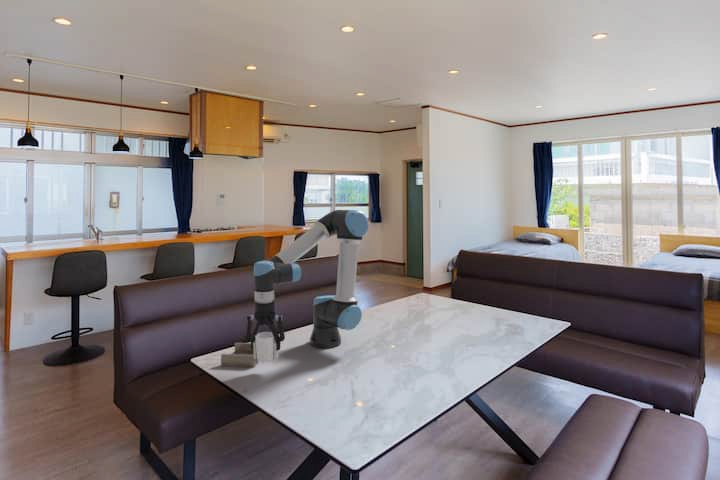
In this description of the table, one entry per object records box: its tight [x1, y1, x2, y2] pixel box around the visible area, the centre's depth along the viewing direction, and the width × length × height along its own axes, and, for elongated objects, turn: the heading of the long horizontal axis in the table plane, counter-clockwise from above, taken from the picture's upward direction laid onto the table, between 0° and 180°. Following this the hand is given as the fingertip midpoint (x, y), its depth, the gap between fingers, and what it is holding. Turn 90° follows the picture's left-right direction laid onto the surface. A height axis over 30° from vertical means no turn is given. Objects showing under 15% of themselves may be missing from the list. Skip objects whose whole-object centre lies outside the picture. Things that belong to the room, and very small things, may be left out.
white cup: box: [255, 331, 275, 364], centre depth 161 cm, size 8×8×10 cm
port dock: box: [220, 342, 260, 368], centre depth 175 cm, size 14×16×4 cm
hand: (266, 357), depth 161 cm, fingers closed on white cup, 8 cm apart
